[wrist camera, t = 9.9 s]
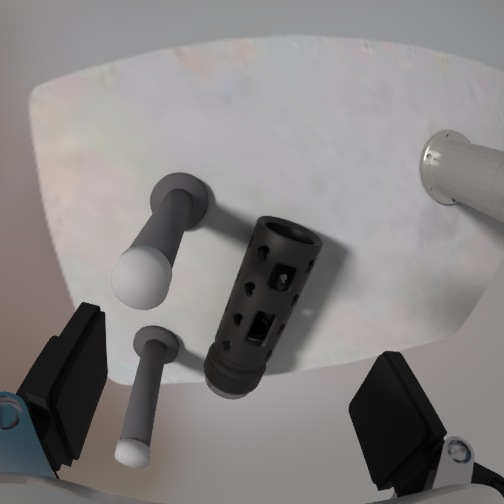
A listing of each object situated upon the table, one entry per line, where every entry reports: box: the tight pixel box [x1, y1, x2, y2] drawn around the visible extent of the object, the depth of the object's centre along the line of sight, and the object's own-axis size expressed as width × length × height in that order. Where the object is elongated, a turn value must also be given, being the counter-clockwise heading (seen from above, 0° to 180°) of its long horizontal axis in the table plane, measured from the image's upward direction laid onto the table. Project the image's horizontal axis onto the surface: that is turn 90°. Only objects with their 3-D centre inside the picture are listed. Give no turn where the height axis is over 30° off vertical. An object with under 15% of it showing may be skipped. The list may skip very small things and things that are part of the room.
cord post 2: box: [115, 326, 179, 468], centre depth 42 cm, size 8×8×24 cm
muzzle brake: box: [204, 216, 323, 399], centre depth 47 cm, size 10×28×10 cm, turn 161°
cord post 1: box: [110, 173, 208, 310], centre depth 33 cm, size 8×8×24 cm
